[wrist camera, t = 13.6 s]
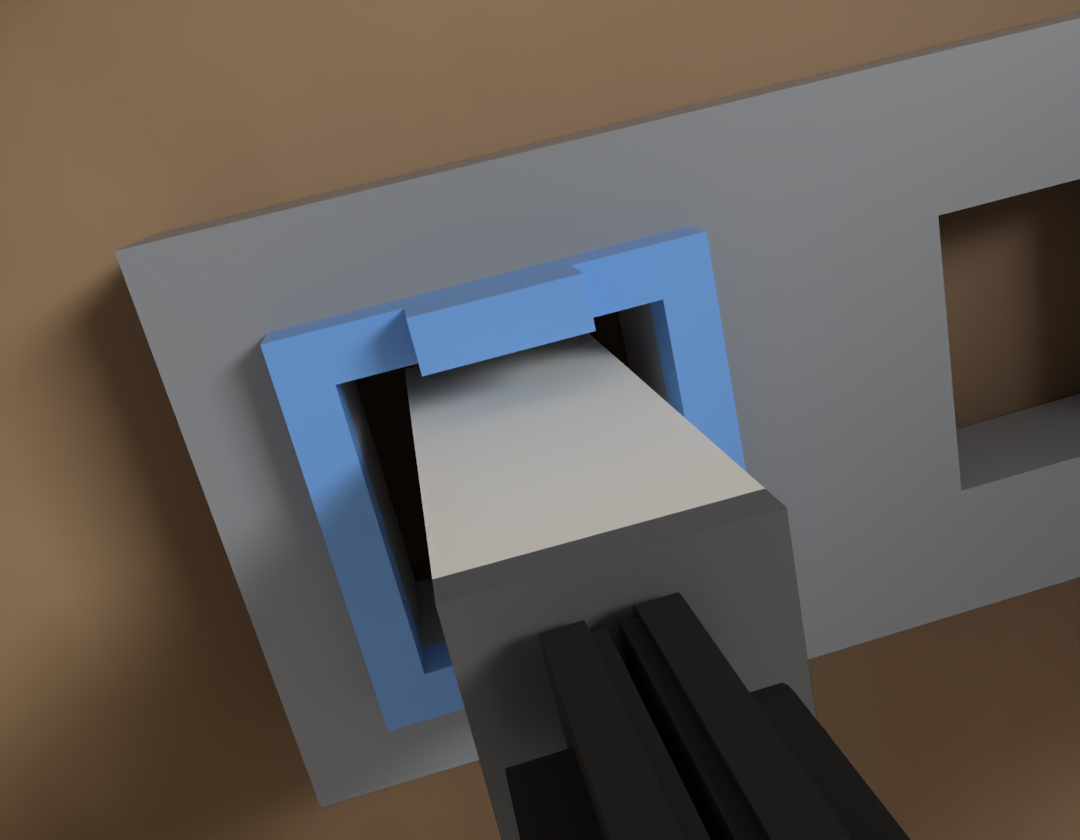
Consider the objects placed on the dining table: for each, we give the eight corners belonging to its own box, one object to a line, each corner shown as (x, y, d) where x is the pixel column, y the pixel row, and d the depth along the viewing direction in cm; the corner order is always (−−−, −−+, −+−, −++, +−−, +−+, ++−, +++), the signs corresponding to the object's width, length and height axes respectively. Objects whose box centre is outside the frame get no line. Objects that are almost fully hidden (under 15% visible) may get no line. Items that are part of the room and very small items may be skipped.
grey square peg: (579, 325, 21) (786, 507, 10) (612, 486, 22) (826, 795, 11) (404, 368, 20) (435, 604, 10) (448, 531, 21) (516, 891, 11)
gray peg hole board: (1217, -22, 21) (1464, -70, 16) (1212, 462, 25) (1411, 537, 20) (154, 234, 19) (78, 265, 14) (327, 723, 22) (314, 878, 18)
